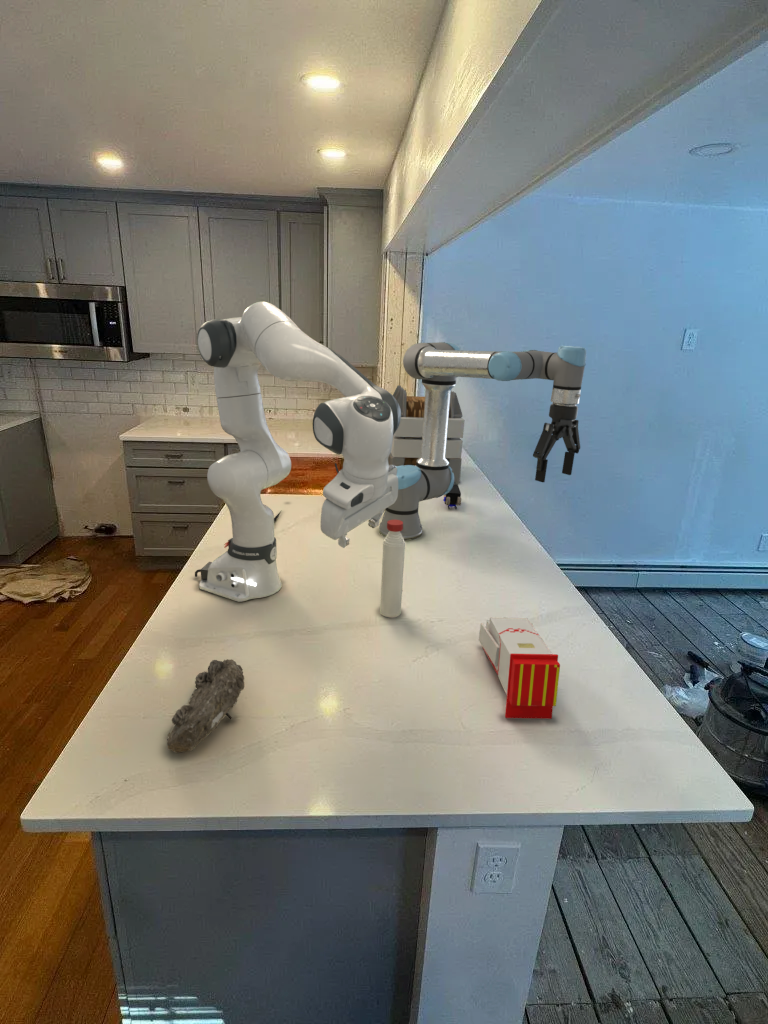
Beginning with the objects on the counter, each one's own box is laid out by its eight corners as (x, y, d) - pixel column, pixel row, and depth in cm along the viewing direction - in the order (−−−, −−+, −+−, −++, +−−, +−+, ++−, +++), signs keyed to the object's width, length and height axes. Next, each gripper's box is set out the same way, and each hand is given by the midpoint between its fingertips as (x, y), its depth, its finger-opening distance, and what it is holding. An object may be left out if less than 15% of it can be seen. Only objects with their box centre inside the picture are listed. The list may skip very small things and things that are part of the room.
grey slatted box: (382, 463, 289) (386, 382, 275) (445, 464, 293) (451, 384, 279) (390, 482, 257) (394, 392, 243) (460, 483, 261) (468, 394, 247)
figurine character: (461, 514, 225) (456, 498, 239) (463, 497, 222) (458, 482, 235) (444, 513, 225) (440, 498, 239) (446, 496, 222) (442, 481, 235)
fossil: (192, 660, 117) (244, 628, 112) (224, 691, 120) (276, 661, 115) (142, 746, 98) (202, 712, 93) (182, 779, 101) (242, 748, 96)
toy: (525, 603, 136) (569, 660, 107) (520, 654, 139) (562, 725, 109) (475, 601, 135) (505, 659, 106) (471, 653, 138) (499, 724, 109)
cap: (392, 532, 138) (392, 526, 137) (383, 527, 141) (384, 521, 140) (405, 530, 140) (406, 523, 139) (396, 525, 143) (397, 518, 142)
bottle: (387, 619, 145) (392, 529, 136) (376, 610, 149) (379, 521, 141) (405, 614, 148) (410, 525, 139) (393, 605, 152) (398, 518, 143)
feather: (288, 505, 226) (290, 501, 226) (271, 529, 199) (273, 524, 199) (284, 503, 226) (287, 499, 225) (266, 526, 199) (269, 522, 199)
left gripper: (385, 455, 119) (378, 509, 127) (316, 492, 105) (313, 549, 113) (409, 467, 116) (400, 521, 124) (341, 506, 102) (337, 564, 110)
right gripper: (550, 409, 147) (539, 487, 154) (600, 403, 163) (588, 474, 170) (526, 405, 152) (516, 481, 160) (576, 399, 168) (566, 468, 175)
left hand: (358, 535), depth 118 cm, fingers open, 8 cm apart
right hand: (553, 477), depth 165 cm, fingers open, 13 cm apart
